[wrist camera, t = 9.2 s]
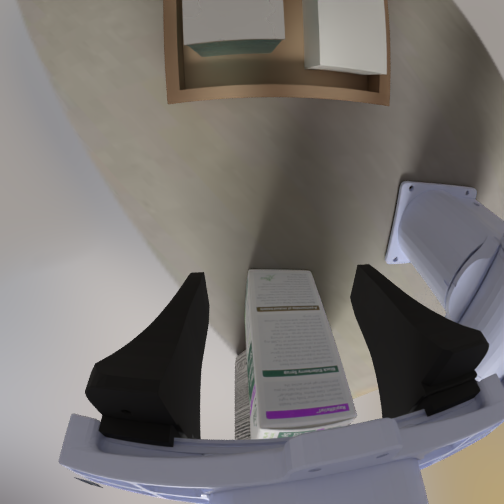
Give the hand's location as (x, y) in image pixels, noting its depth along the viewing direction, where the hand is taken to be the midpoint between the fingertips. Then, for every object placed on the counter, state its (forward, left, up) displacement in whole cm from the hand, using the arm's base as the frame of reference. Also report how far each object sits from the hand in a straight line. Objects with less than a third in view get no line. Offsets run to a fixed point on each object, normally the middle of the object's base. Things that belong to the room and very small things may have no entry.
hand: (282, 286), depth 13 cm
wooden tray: (-1, -14, -10) cm, 17 cm away
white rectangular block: (-5, -14, -9) cm, 17 cm away
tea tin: (+2, -13, -9) cm, 16 cm away
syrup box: (-1, +9, -10) cm, 14 cm away
